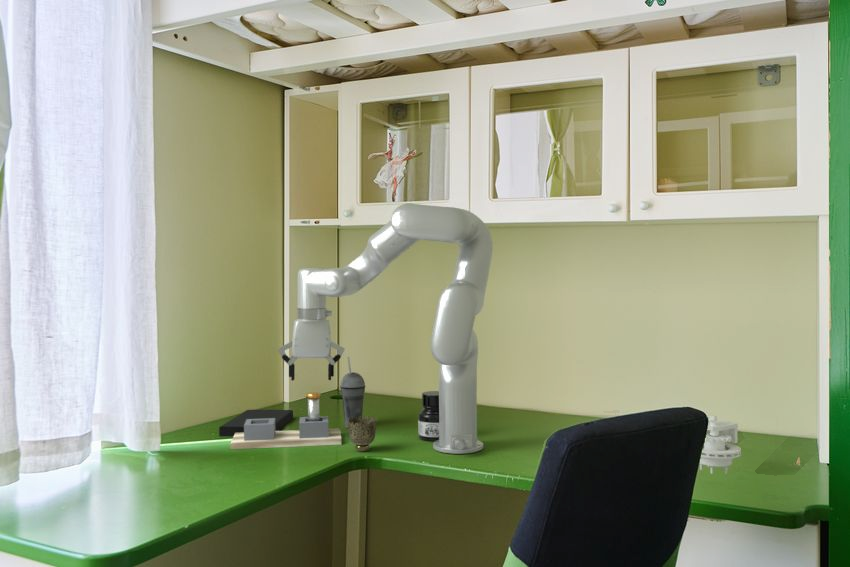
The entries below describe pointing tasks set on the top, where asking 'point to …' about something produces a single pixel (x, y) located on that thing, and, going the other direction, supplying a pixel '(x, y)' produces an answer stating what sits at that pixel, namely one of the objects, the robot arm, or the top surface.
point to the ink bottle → (429, 416)
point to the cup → (362, 432)
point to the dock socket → (259, 429)
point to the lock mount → (313, 428)
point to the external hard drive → (238, 422)
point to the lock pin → (313, 406)
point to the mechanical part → (719, 444)
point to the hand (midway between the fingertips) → (311, 379)
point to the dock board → (286, 440)
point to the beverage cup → (352, 395)
